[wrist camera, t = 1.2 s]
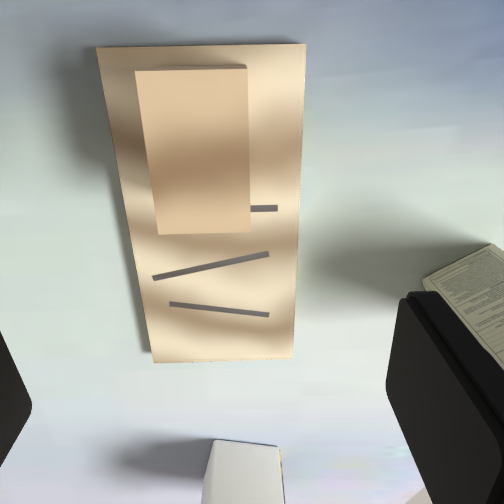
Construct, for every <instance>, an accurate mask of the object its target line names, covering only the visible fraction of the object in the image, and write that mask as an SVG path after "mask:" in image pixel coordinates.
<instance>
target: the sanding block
mask: <svg viewBox="0 0 504 504" xmlns="http://www.w3.org/2000/svg"><path fill="white" fill-rule="evenodd" d="M135 77H136V84H137V91H138V98H139V105H140V112H141V119H142V125H143V132H144V139H145V146H146V153H147V160H148V167H149V173H150V180H151V187H152V194H153V201H154V208H155V215H156V221H157V228H158V235H165V234H202V233H239V232H251V215H250V166H249V116H248V69H247V66H246V64H240V65H190V66H158V67H153V68H148V69H143V70H138V71H135Z"/></svg>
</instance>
